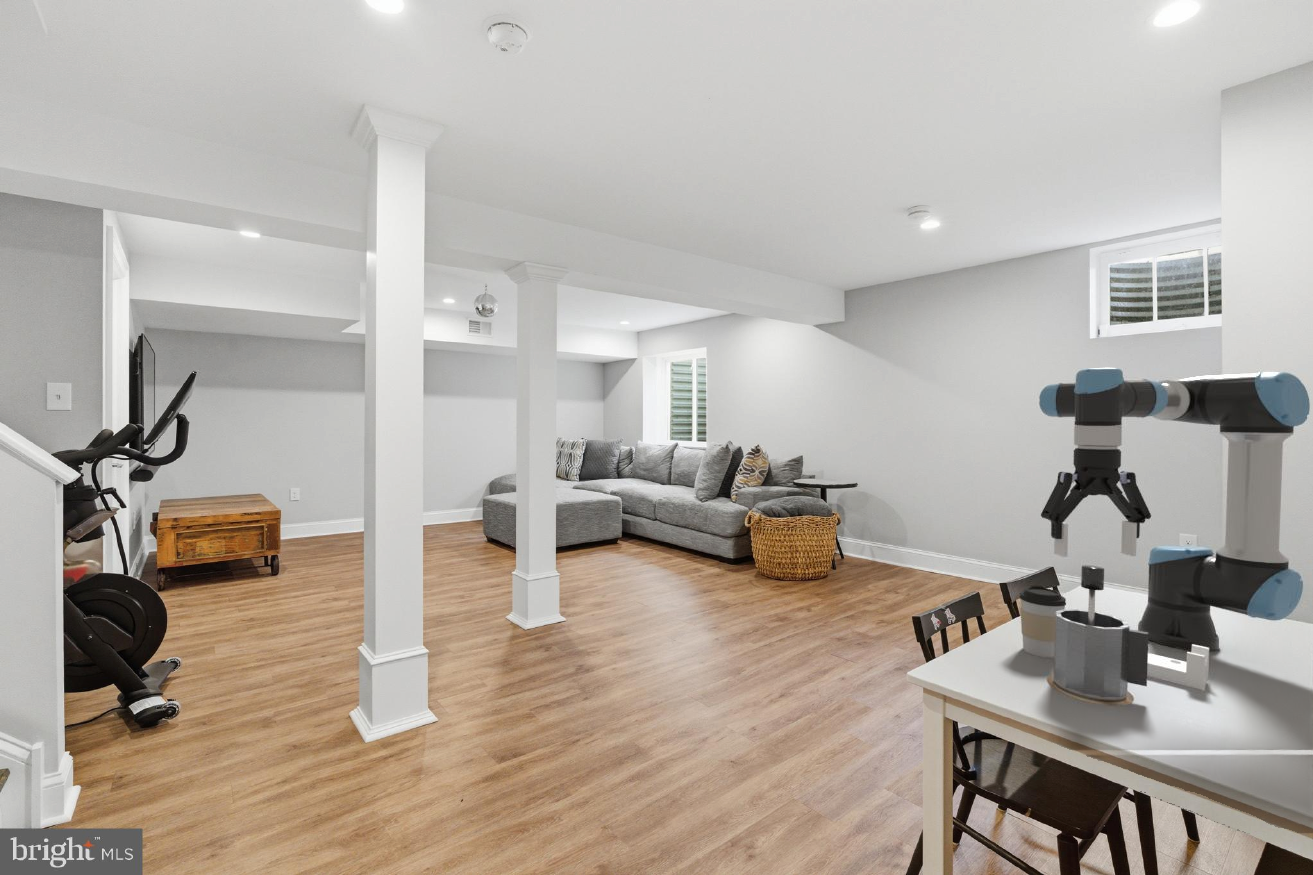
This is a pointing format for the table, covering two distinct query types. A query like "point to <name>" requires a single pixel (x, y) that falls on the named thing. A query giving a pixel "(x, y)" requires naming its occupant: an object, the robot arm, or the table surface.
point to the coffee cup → (1039, 619)
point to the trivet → (1125, 702)
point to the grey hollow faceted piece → (1098, 656)
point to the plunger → (1092, 586)
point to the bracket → (1182, 668)
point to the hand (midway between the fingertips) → (1094, 555)
